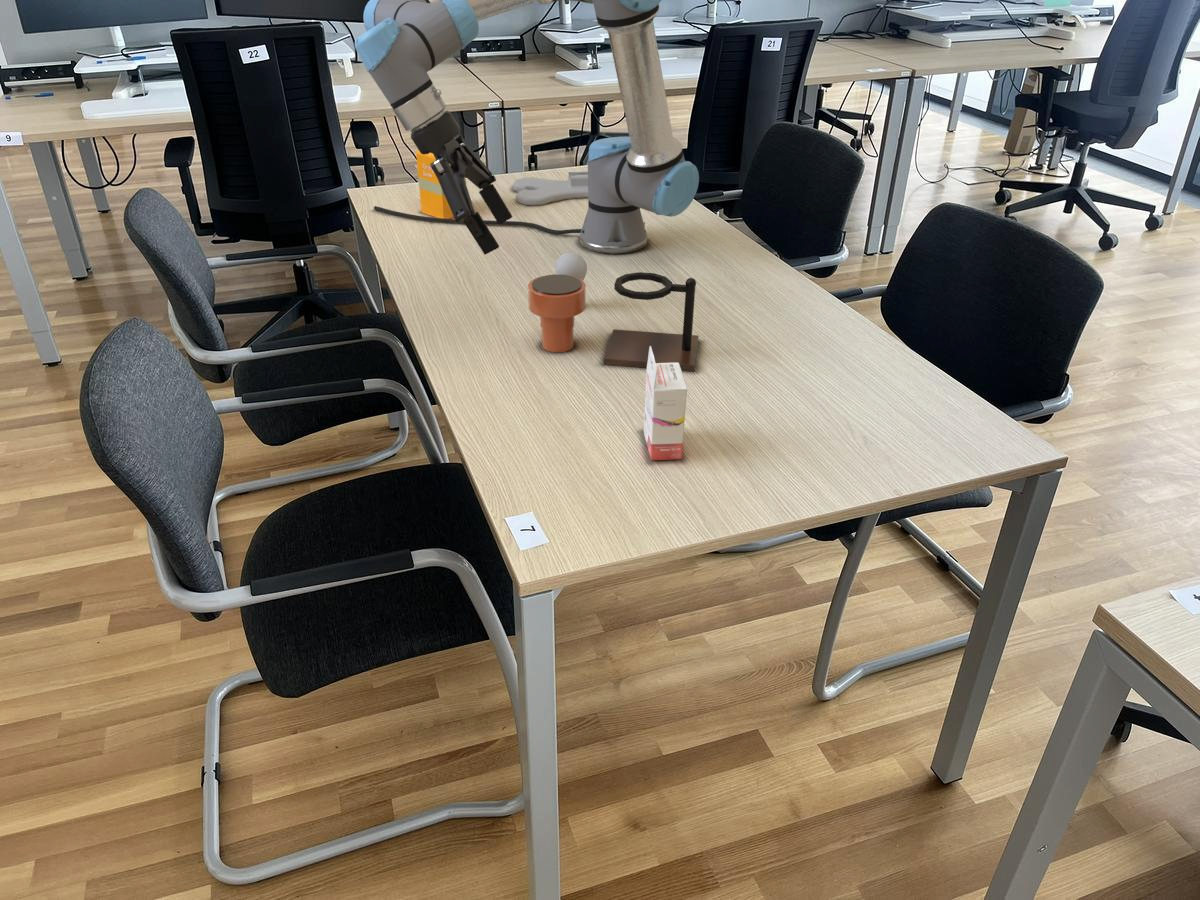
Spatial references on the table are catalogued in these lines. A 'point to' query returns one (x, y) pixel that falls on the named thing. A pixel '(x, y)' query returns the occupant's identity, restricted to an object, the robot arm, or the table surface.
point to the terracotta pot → (557, 308)
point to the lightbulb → (571, 265)
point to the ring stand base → (636, 344)
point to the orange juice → (431, 189)
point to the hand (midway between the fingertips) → (499, 235)
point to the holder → (551, 189)
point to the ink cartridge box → (664, 409)
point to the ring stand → (669, 287)
